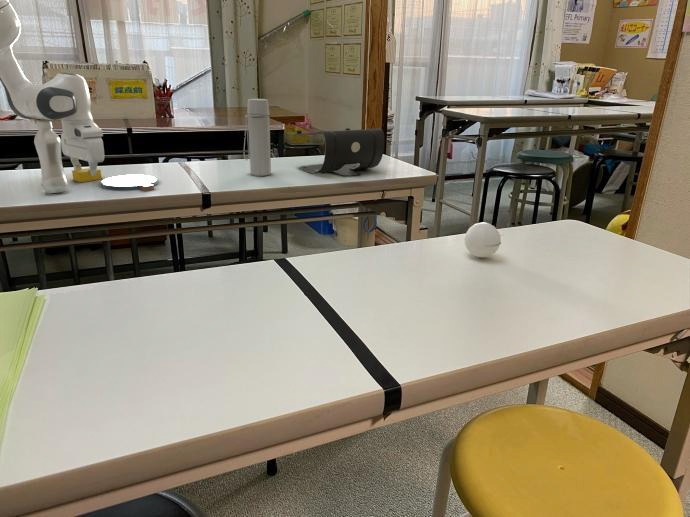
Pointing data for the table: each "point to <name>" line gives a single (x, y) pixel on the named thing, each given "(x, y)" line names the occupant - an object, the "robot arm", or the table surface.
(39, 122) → the plastic bottle
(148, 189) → the crust
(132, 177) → the plate
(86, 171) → the sponge
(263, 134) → the water bottle
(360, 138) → the laptop stand
